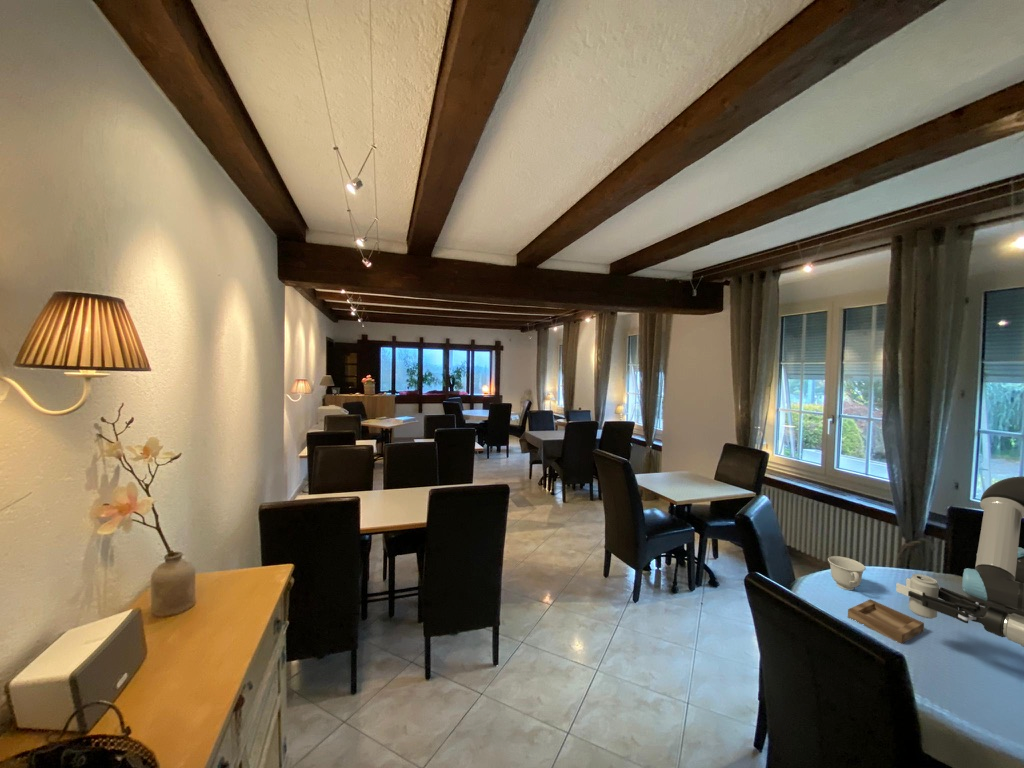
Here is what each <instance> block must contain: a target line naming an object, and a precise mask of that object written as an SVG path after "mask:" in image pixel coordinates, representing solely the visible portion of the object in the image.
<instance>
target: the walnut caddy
mask: <svg viewBox="0 0 1024 768" xmlns="http://www.w3.org/2000/svg"><path fill="white" fill-rule="evenodd" d="M847 618H848V619H850V618H851V619H850V620H852V619H853V620H852V621H854V620H856V621H857V623H858V622H859V623H858V624H861V625H862V624H864V625H865V626H864V625H863V626H864V627H866V628H868V629H871V630H872V631H874V632H876V633H878V634H880V635H882V636H884V637H887V638H888V639H890V638H891V640H892V639H893V641H895V642H896V641H897V642H896V643H898V644H900V645H902V644H904V643H906V642H908V641H909V640H911V639H913V638H914V637H916V636H918V635H919V634H921V633H924V628H925V622H923V621H920V620H918V619H916V618H913V617H912V616H909V615H906V614H905V613H903V612H901V611H898V610H896V609H893V608H891V607H889V606H887V605H885V604H882V603H880V602H877V601H876V600H874V599H867V600H866V601H863V602H861V603H858V604H857V605H855V606H852V607H850V608H847ZM856 621H855V622H856Z"/></svg>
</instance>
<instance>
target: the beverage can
mask: <svg viewBox="0 0 1024 768" xmlns="http://www.w3.org/2000/svg"><path fill="white" fill-rule="evenodd" d="M910 579H911V580H910V587H909V588H912V589H915V590H917V591H920V592H922V593H923V592H924V593H925V595H927V596H930V597H934V598H937V599H939V598H938V592H939V589H940V587H939V584H938V581H937V580H936V579H935V578H933V577H931V576H928V575H925V574H919V573H913V574H912V576H911V577H910ZM908 600H909V601H908V608H909V610H910V611H911V612H912V613H913V614H915V615H917V616H919V617H921V618H924V619H930V620H932V619H935V618H937V616H938V611H935V610H932V609H930V608H927V607H924V606H923V605H922V602H921V601H919V600H916V599H914V598H911V597H909V599H908Z"/></svg>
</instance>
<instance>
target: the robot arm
mask: <svg viewBox="0 0 1024 768" xmlns="http://www.w3.org/2000/svg"><path fill="white" fill-rule="evenodd" d="M979 506H980V508H981V509H982V511H983V516H982V521H981V527H980V529H981V530H980V534H979V541H978V547H977V553H976V560H975V567H974V568H969V567H968V568H966V567H965V568H964V569H963V573H962V582H961V583H962V584H961V589H962V591H963V592H964V593H965V594H967V596H966V595H963V594H959V593H958V592H955V591H952V590H950V589H948V588H945V587H941V586H940V587H939V592H938V599H937V598H934V597H930V596H927V595H925V593H924V592H923V593H922V592H920V591H917V590H915V589H912V588H910V580H911V578H908V577H907V578H906V580H905V581H906V583H905V584H902V583H899V582H897V583H895V584H896V585H895V586H896V588H895V590H896V591H895V592H897V593H899V594H902V595H904V596H907V597H909V598H910V597H911V598H914V599H916V600H919V601H921V602H922V605H923V606H924V607H927V608H930V609H932V610H935V611H937V613H940V614H943V615H946V616H948V617H951V618H953V619H956V620H958V621H961V622H962V623H965V624H969V621H971V622H976V623H979V624H981V625H982V626H983V628H984V630H985V631H986V632H988V633H991V634H994V635H995V636H998V637H1001V638H1006V639H1007V640H1008V641H1011V642H1012V643H1013V642H1014V643H1016V644H1018V645H1020V646H1021V647H1023V648H1024V548H1022V547H1019V544H1020V533H1021V523H1022V522H1021V521H1022V519H1024V476H1012V477H1006V478H1004V479H1001V480H999V481H997V482H994V483H993V484H991V485H990V486H989V487H987V488H986V489H985V491H984V492H983V493H982V495H981V497H980V502H979Z"/></svg>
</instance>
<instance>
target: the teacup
mask: <svg viewBox="0 0 1024 768" xmlns="http://www.w3.org/2000/svg"><path fill="white" fill-rule="evenodd" d="M827 561H828V562H829V566H830V575H831V578H832V579H833V581H834V582H836V583H835V584H836V586H837V587H838V588H841V589H843V590H847V591H854V590H855V588H856V587H858V586H860V584H861V581H862V577H863V574H864V571H866V570H867V569H866V568H867V567H866V566H865V565H864V564H863V563H861V562H859V561H857V560H855V559H853V558H849V557H844V556H839V555H832V556H829V557H828V558H827Z"/></svg>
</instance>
